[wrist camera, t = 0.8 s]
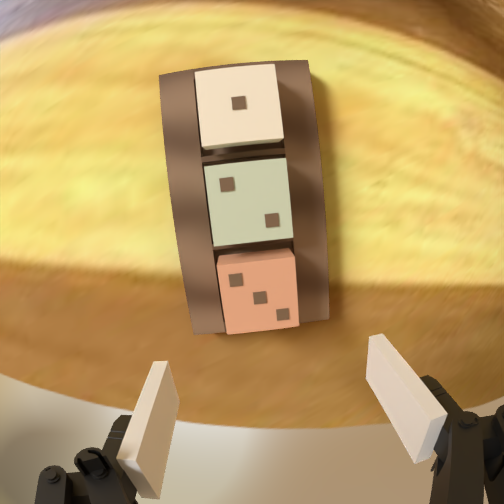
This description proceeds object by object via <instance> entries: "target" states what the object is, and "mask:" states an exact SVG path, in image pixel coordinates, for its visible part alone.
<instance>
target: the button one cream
mask: <svg viewBox="0 0 504 504" xmlns="http://www.w3.org/2000/svg"><path fill="white" fill-rule="evenodd" d="M195 81H196V92H197V103H198V113H199V124H200V133H201V143H202V147H203V148H204V149H205V150H209V149H217V148H225V147H234V146H243V145H252V144H263V143H275V142H280V141H281V140H282V139H283V138H284V135H283V126H282V118H281V109H280V101H279V93H278V86H277V78H276V71H275V64H264V65H250V66H238V67H228V68H220V69H212V70H204V71H198V72H195Z"/></svg>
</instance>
